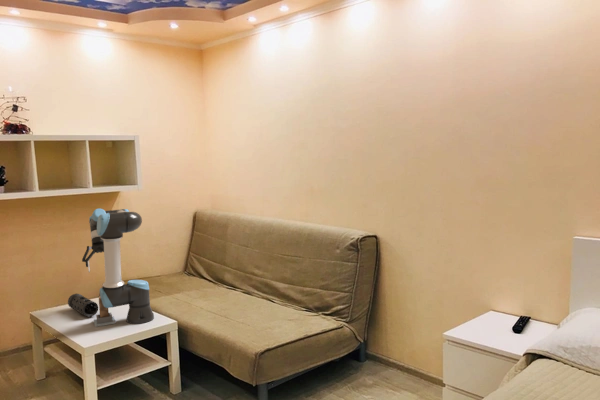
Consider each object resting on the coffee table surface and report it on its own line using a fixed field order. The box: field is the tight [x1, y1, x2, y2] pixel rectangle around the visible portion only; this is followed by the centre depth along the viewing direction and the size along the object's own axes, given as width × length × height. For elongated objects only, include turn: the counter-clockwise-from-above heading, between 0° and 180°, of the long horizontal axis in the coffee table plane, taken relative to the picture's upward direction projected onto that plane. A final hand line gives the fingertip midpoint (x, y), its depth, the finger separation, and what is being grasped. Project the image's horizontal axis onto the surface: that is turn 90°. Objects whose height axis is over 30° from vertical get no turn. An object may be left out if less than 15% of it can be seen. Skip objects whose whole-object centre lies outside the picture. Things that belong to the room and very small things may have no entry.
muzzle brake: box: [67, 293, 99, 319], centre depth 304 cm, size 10×28×10 cm, turn 43°
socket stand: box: [93, 312, 116, 327], centre depth 285 cm, size 11×11×4 cm
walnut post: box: [98, 295, 110, 318], centre depth 285 cm, size 4×4×14 cm
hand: (101, 270), depth 299 cm, fingers open, 13 cm apart
